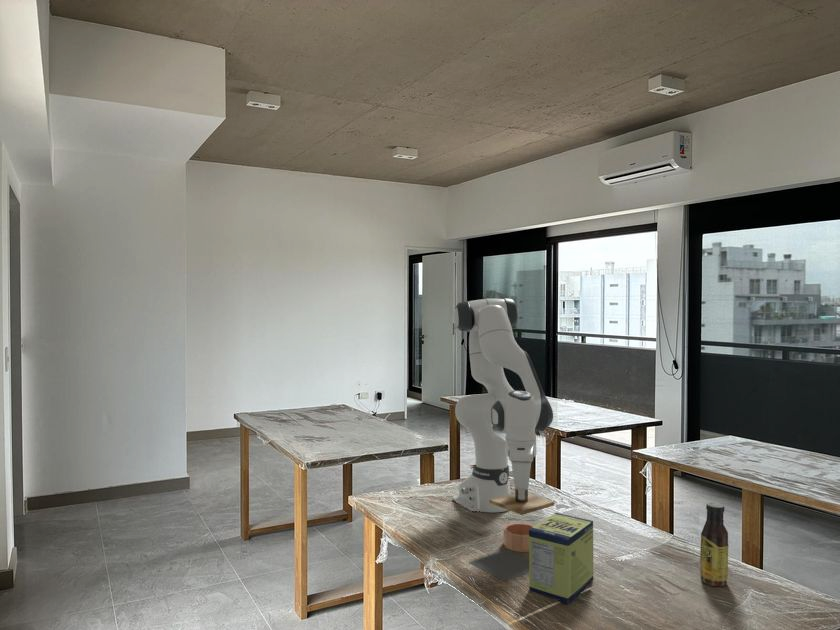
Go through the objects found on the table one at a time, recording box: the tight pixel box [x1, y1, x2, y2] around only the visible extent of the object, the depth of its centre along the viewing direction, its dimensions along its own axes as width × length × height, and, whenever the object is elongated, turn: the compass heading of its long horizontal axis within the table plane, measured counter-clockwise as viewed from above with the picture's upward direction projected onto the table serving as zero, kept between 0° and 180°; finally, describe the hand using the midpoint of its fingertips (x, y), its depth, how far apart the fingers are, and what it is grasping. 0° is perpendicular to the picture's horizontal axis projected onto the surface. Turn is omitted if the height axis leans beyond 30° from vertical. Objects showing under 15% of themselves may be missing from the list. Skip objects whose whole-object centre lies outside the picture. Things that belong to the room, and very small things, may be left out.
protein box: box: [528, 512, 594, 605], centre depth 151 cm, size 10×16×16 cm
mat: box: [468, 549, 529, 582], centre depth 163 cm, size 14×14×1 cm
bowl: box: [502, 522, 535, 553], centre depth 176 cm, size 10×10×5 cm
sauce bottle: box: [699, 501, 729, 587], centre depth 153 cm, size 7×6×20 cm
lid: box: [490, 488, 555, 516], centre depth 176 cm, size 13×13×5 cm
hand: (521, 496), depth 176 cm, fingers closed on lid, 4 cm apart
